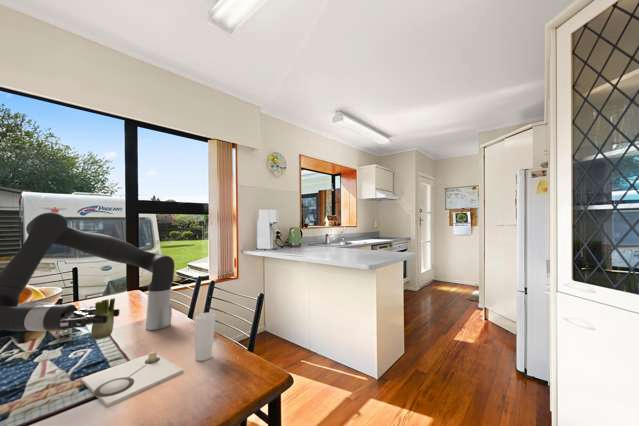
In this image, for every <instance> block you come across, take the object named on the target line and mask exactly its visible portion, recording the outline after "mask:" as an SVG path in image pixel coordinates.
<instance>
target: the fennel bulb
mask: <svg viewBox="0 0 639 426" xmlns="http://www.w3.org/2000/svg"><path fill="white" fill-rule="evenodd" d="M115 303H116V298H114V297H113V298H110V299H109V298H108V299H107V298H106V299H103V300H101V301H97V302H95V304H94V305H95V306H94V307H95V316H97V315H107V316H108V322H106V323H96V324H93V323H92V324H91V332H90V333H91V334H90V336H91V338H92V339H94V340H100V339H101V340H102V339H105V338H108V337H110V336H111V335H112V333H113V330H114V322H115V317H114V309H115Z"/></svg>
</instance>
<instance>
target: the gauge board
mask: <svg viewBox="0 0 639 426" xmlns="http://www.w3.org/2000/svg"><path fill="white" fill-rule="evenodd" d="M183 373H184V369H183V368H182V367H180V366H178V365H176V364H174V363H173V362H171V361H169V360H168V359H166V358H164V357H162V356H160V355H159V354H158V352H157V351H156V350H154V351H150V352H148V354H145V355H143V356H140V357H136V358H134V359H131V360H128V361H126V362H123V363H120V364H117V365H115V366H112V367H109V368H107V369H103V370H100V371H97V372H95V373H92V374H90V375H87V376H84V377H81V379H80V382H81V383H82V384H83V385H84V386H86V388H87V389H88V390H89V391H91V393H92V394H93V395H94V396H95V397H96V398H97V399H98V400H99V401H101V403H102V405H104V406H105V407H106V408H108V407H111V406H112V405H115V404H117V403H119V402H121V401H123V400H125V399H128V398H130V397H133V396H134V395H136V394H138V393H141V392H142V391H145V390H148V389H149V388H151V387H154V386H156V385H159V384H160V383H162V382H165V381H167V380H169V379H172V378H173V377H176V376H178V375H180V374H183Z"/></svg>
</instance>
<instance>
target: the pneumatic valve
mask: <svg viewBox="0 0 639 426" xmlns="http://www.w3.org/2000/svg"><path fill="white" fill-rule="evenodd" d="M76 308H77V310H80V309H79V306H76ZM59 334H60V336H62V337H63V336H66V335H72V334H73V328H68V329H66V330H60V332H59Z"/></svg>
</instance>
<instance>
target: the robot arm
mask: <svg viewBox="0 0 639 426" xmlns="http://www.w3.org/2000/svg"><path fill="white" fill-rule="evenodd" d="M26 233H27V234H28V236H27V237H26V240H25V241H24V242H23V244H22V245H21V246H20V248H19V250H18V251H17V252H16V254H15V255H14V256H13V257H12V259H10V260H9V262H8V263H7V264H6V266H4V268H3V269H2V270H1V271H0V331H2V330H3V331H4V330H5V331H11V332H23V331H26V332H27V331H32V332H33V331H34V332H47V331H48V332H50V331H61V330H66V329H68V328H72V329H73V328H74V329H76V328H84V327H86V326H92V324H96V323H106V322H108V316H107V315H97V316H95V306H93V305H92V306H89V308H80V309H77V308H76V307H77V306H76V305H74V304H43V305H28V306H27V305H26V306H19V301H20V296H21V294H22V293H23V292H24V290H25V288H26V287H27V285H28V283H29V282H30V280H31V278H32V276H33V275H34V273H35V271H36V270H37V268H38V266H39V265H40V263H41V262H42V260H43V258H44V257H45V255H46V254H47V252H48V251H49V250H50V249H51V247H52V245H58V246H63V247H66V248H71V249H74V250H76V251H78V252H83V253H84V254H89V255H91V256H95V257H98V258H100V259H104V260H107V261H111V262H114V263H120V264H125V265H132V266H135V267H138V268H141V269H143V270H146V271H148V272H149V273H152V275H151V280H150V283H149V284H148V286H147V300H146V301H147V305H146V319H145V329H146V330H148V331H156V330H157V331H158V330H162V329H165V328H167V327H168V326H171V325H172V312H173V309H172V308H173V305H172V304H171V296H172V295H171V294H172V292H171V291H172V284H173V282H174V276H175V260H174V259H173V258H172V257H171V256H170V255H165V254H159V253H154V252H150V251H146V250H143V249H141V248H139V247H136V246H135V245H133V244H132V243H129V242H128V241H125V240H122V239H119V238H117V237H114V236H111V235H107V234H103V233H95V232H89V231H83V230H79V229H76V228H73V227H71V226H69V225H68V220H67V218H66V217H65V216H64V215H63V214H60V213H57V212H52V211H51V212H50V211H48V212H44V213H41V214H39V215H37V216H35V217H34V218H33V219H31V220H30V221H29V222H28V224H27V225H26ZM120 311H121V310H120V309H119V308H117V309H116V308H114V318H115V317H116V318H117V317H119V316H120Z"/></svg>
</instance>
